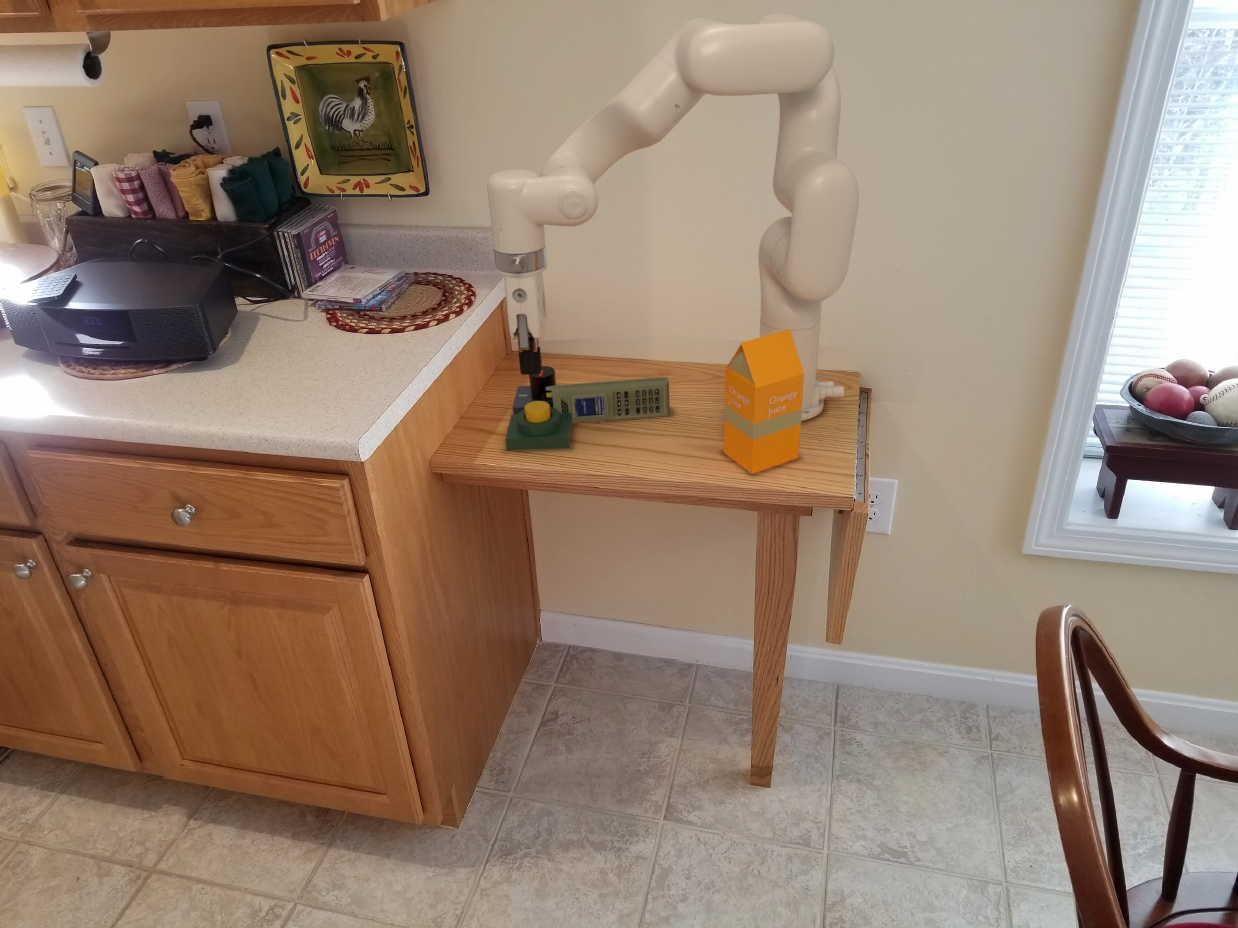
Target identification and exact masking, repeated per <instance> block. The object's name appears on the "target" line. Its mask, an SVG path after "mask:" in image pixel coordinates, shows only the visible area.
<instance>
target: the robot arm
mask: <svg viewBox="0 0 1238 928" xmlns="http://www.w3.org/2000/svg"><path fill="white" fill-rule="evenodd" d="M834 58H835V46H834V42H833V40H832V36H831V34H830V33H829V31H828V30H827V29H826V28H825V27H823V26H822V25H821V24H820V23H818V22H816V21H814V20H811V19H808V18H804V17H801V16H797V15H795V14H791V13H786V12H774V13H770V14H767V15H764V16H763V17H762V18H760V19H759V20H758V21H757V22H756V23H724V22H721V21H719V20H715V19H712V18H709V17H696V18H693V19H691V20H689V21H687V22H685V23H684V24H683V25H682V26H680V27H679V28H678V29H677V30H676V31H675V33H674V34H672V36H670V37H669V38H668V40H667V41H666V42H665V43H664V44H663V45H662V46H661V48H659V50H658V51H657V52H656V53H655V54H654V55H653V56H652V57H651V58H650V59H649V60H648V61H647V63H646V64H645V65H644V66H643V67H642V68H641V69H640V70H639V71H638V72H637V74H636V75H635V76H634V77H633V78H632V79H631V80H630V81H629V82H628V83H627V84H626V85H625V86H624V87H623V89H621V90H620V92H619V93H618V94H616V95H615V96H614V97H613V98H612V99H610V100H609V101H608V102H606V103H605V104H604V105H603V106H602V107H601V108H600V109H599V110H598V111H596V112H595V113H594V114H593V115H591V116H590V117H589V118H588V119H586V120H585V121H583V123H581V125H579V126H578V127H577V128H576V129H575V130H574V131H573V132H572V133H571V134H570V135H569V136H568V138H567V139H566V140H565V141H564V142H563V143H562V144H561V145H560V146H559V148H558V149H557V150H556V151H554V153H553V154H552V155H551V156H550V157H549V159H547V161H546V162H545V164H544V165H543V167H542V168H541V171H540V173H539V176H538V174H537V173H536V172H534V171H533V170H529V169H522V168H520V169H519V168H512V169H510V168H509V169H503V170H499V171H497V172H494V173H493V174H491V175H490V176H489V178H488V180H487V182H486V186H487V198H488V208H489V216H490V217H489V218H490V227H491V234H492V235H491V236H492V244H493V254H494V260H495V261H494V263H495V264H494V265H495V271H496V273H498V274H499V275H501V276H503V278H504V292H505V293H504V294H505V301H506V302H505V303H506V311H507V312H506V314H507V321H508V329H509V330H508V331H509V336H510V338H511V339H512V340H514V341H516V339H517V345H518V352H517V353H518V362H519V371H520V374H521V375H522V376H527V375H528V376H529V375H533V374H540V373H541V370H542V366H543V365H542V354H541V346H539V345H540V340H542V339H543V338H544V336H545V331H546V327H547V322H548V309H547V308H548V307H547V302H546V301H547V300H546V291H545V283H544V275H543V272H544V271H546V270H547V268H548V260H547V259H548V257H547V245H546V234H545V226H557V227H576V226H580V225H581V226H582V225H583V224H585V223H587V222H588V221H590V220H591V219H592V218H593V217H594V216H595V214H596V212H597V210H598V207H599V194H598V190H597V188H596V185H595V184H596V182H597V181H598V180H599V179H600V178H602V176H603V175H604V174H605V173H606V172H607V171H608V170H609V169H610V168H612V166H613V165H615V164H616V163H617V162H618V161H619V160H621V159H623V158H624V157H626V156H627V155H629V154H631V153H633V152H636V151H639V150H643V149H646V148H649V147H652V146H654V145H657V144H658V143H660V142H662V141H663V140H664V138H665V137H667V136H668V135H669V133H670V132H671V131H672V130H673V129H674V128H675V127H676V126H677V125H678V124H679V122H680V121H682V119H683V118H685V116H686V115H687V114H688V113H690V112H691V110H692V109H693V108H694V107H695V106H696V105H697V104H698V103H699V102H700V101H701V100H702V99H703V98H704V97H705V95H710V96H721V97H722V96H723V97H727V96H728V97H736V96H738V97H739V96H755V95H756V96H757V95H773V94H776V95H777V98H778V105H779V121H778V122H779V125H778V138H777V145H776V152H775V153H776V154H775V161H774V170H773V177H772V190H773V193H774V196H775V198H776V200H777V201H778V202H779V203H780V204H781V205H782V206H783V207H784V208H785V209H786V210H787V211H788V212H789V213H791V216H785V217H781V218H779V219H777V220H775V221H773V222H772V223H771V224H770V225H768V226H767V228H766V229H765V231H764V232H763V234H762V236H761V239H760V242H759V244H758V245H759V246H758V255H757V256H758V270H759V272H758V273H759V281H760V283H759V284H760V319H759V337H762V336H766V335H770V334H773V333H777V332H780V331H784V330H787V329H790V331H791V334H792V337H793V340H794V343H795V346H796V350H797V353H798V356H799V359H800V362H801V365H802V368H803V371H804V382H803V397H802V418H801V422H803V421H807V420H810V419H813V418H815V417H817V416H818V415H819V414H820V413H821V412H822V411H823V409H824V405H825V403H824V402H825V401H824V400H825V399H826V398H833V399H835V398H836V399H837V398H838V399H839V398H844V397H845V387H844V385H835V384H834V383H835V382H834V381H833V380H832V381H831V380H828V381H827V380H825V381H820V380H819V379H818V378H817V371H818V357H819V346H820V345H819V344H820V332H821V331H820V330H821V321H822V320H821V319H822V301H825V300H827V299H829V298H830V297H832V296H833V295H835V293H837V291H838V290H839V289H840V288H841V286H842V285H843V283H844V281H845V279H846V277H847V274H848V270H849V266H850V262H851V261H850V260H851V254H852V248H853V243H854V237H855V229H856V223H857V219H858V210H859V204H860V203H859V201H860V194H859V192H860V191H859V185H858V181H857V179H856V176H855V174H854V172H853V170H851V168H850V166H848V165H847V164H846V163H845V162H843V161H842V160H841V159H839V158H838V143H839V134H840V122H841V110H842V98H841V95H842V94H841V87H840V83H839V82H840V81H839V78H838V75H837V72H836V69H835V67H834V64H833V63H834Z"/></svg>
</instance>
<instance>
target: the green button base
mask: <svg viewBox="0 0 1238 928" xmlns="http://www.w3.org/2000/svg"><path fill="white" fill-rule="evenodd" d="M550 415H551V417H550V419H549V420H547V421H544V422H536V423H532V422H528V421H527V420H526V415H525V409H523V410H522V411H521V412H519V413H518V414H517V415H513V414H511V415H510V419H509V423H508V427H507V432H506V436H505V446H506V450H507V451H526V450H557V449H559V450H560V449H570V447H571V438H572V437H571V436H572V429H573V423H572V416H571V413H560V412H559V411H558V410H556V409H555V408H553V407H550Z"/></svg>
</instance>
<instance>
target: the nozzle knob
mask: <svg viewBox="0 0 1238 928" xmlns="http://www.w3.org/2000/svg"><path fill="white" fill-rule="evenodd" d="M528 378H529V386H530V389H531V397H532V398H533V399H534V400H538V401H547V400H551V399H553V398H550V397H549V398H547V396H546V393H547V392H549V393H551V392H552V391H549V390H546V387H549V386H554V385H557V379H556V370H555V369H554V367H552V366H550V365H549V366H548V365H542V370H541V373H540V374H533V375H528Z"/></svg>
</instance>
